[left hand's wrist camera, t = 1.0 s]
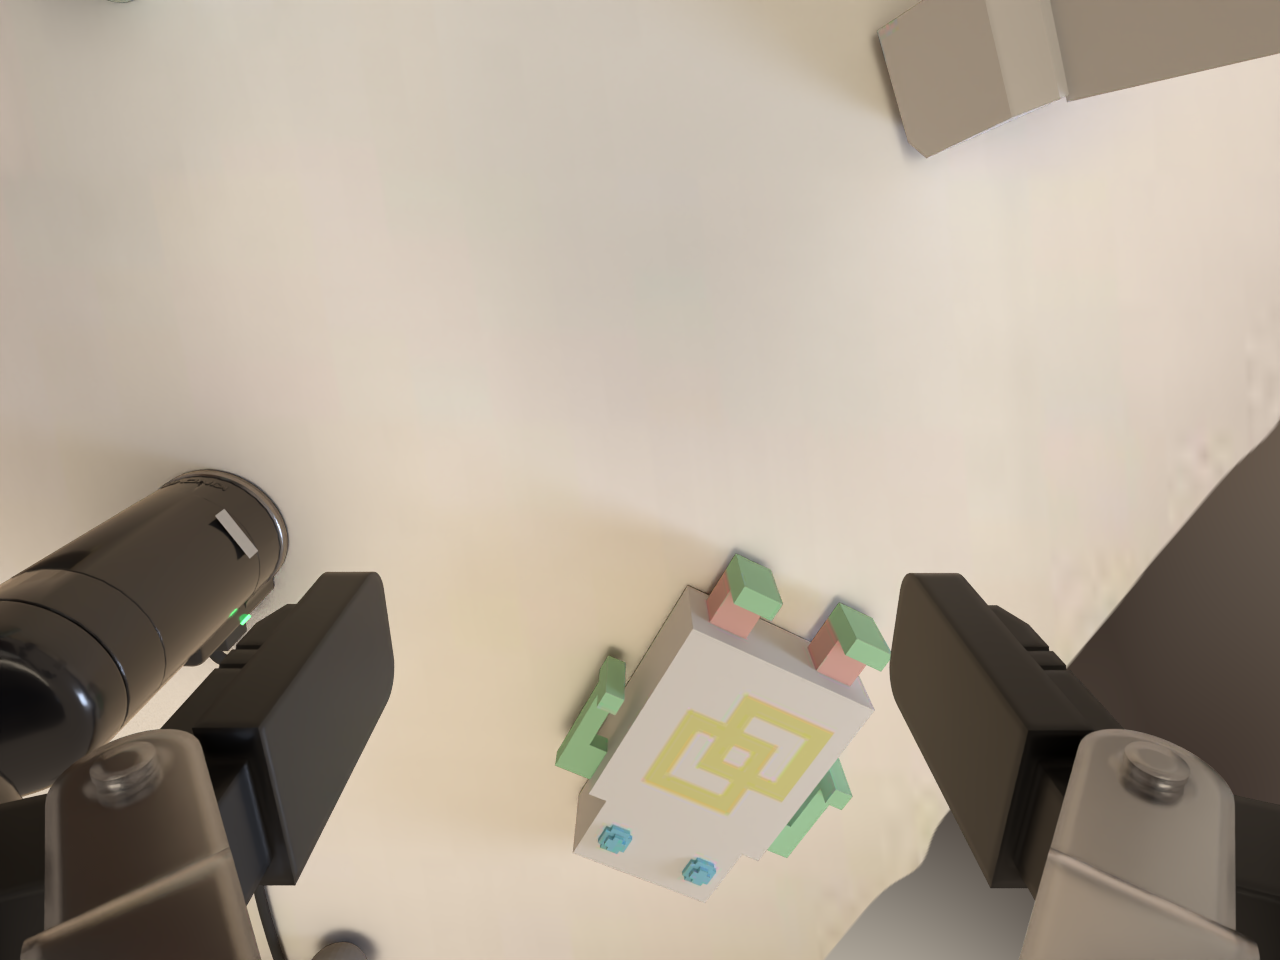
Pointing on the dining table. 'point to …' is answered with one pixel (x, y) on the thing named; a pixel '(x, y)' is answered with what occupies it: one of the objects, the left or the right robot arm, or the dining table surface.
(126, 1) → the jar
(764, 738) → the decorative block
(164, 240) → the dining table surface
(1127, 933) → the left robot arm
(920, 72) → the electronic device
